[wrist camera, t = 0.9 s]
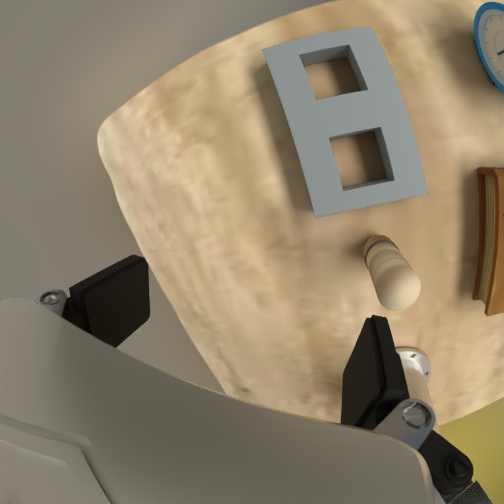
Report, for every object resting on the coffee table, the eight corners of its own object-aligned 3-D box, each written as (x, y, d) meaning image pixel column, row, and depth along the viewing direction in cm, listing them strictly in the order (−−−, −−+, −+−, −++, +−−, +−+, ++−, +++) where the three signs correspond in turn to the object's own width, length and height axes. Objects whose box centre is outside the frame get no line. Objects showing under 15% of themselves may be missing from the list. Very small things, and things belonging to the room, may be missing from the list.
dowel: (398, 249, 30) (429, 291, 19) (374, 269, 32) (392, 320, 21) (379, 224, 30) (405, 257, 19) (354, 246, 32) (367, 289, 21)
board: (416, 190, 28) (427, 194, 24) (316, 211, 32) (315, 217, 28) (367, 39, 23) (371, 26, 19) (269, 61, 27) (261, 49, 23)
